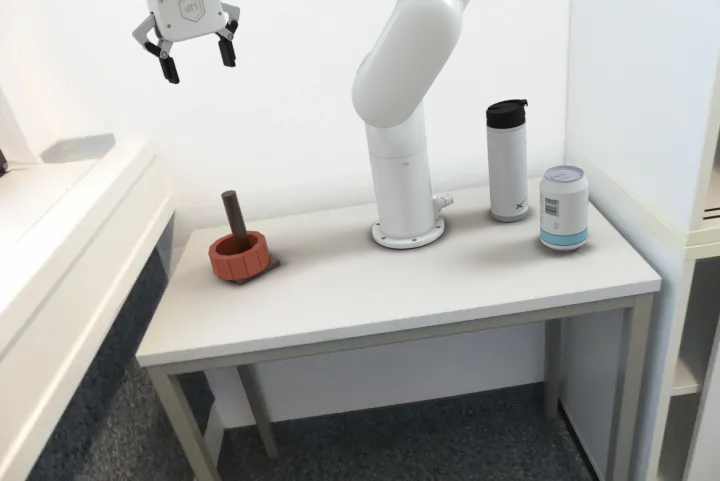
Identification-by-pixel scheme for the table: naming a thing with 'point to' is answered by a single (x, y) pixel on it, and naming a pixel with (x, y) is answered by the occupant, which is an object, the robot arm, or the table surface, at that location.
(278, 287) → the table surface
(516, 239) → the table surface
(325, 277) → the table surface
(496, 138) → the travel mug
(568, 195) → the beverage can
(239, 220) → the stand
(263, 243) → the hoop
